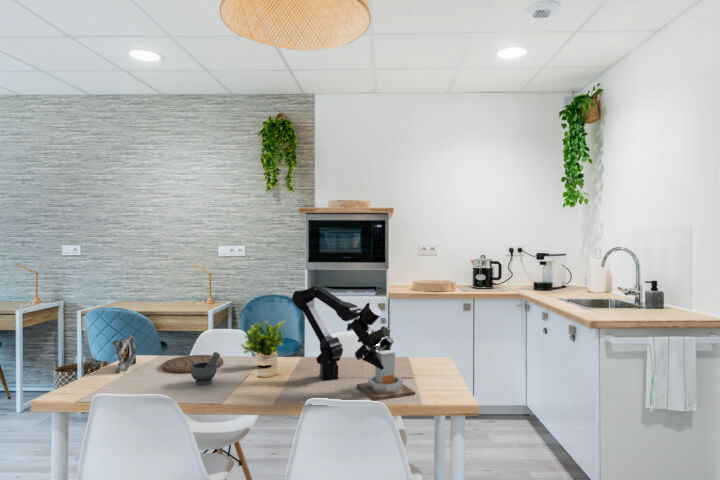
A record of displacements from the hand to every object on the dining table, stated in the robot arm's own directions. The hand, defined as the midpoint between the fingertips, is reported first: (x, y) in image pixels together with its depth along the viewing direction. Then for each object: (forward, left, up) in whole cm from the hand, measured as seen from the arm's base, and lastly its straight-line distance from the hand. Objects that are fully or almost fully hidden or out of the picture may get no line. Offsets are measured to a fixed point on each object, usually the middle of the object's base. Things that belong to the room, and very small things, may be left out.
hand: (388, 366), depth 166 cm
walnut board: (-1, +1, -9) cm, 9 cm away
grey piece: (-91, +69, -9) cm, 115 cm away
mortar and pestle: (-61, +35, -9) cm, 71 cm away
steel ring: (-1, +1, -9) cm, 9 cm away
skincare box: (-1, +1, -7) cm, 7 cm away
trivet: (-63, +64, -9) cm, 91 cm away
